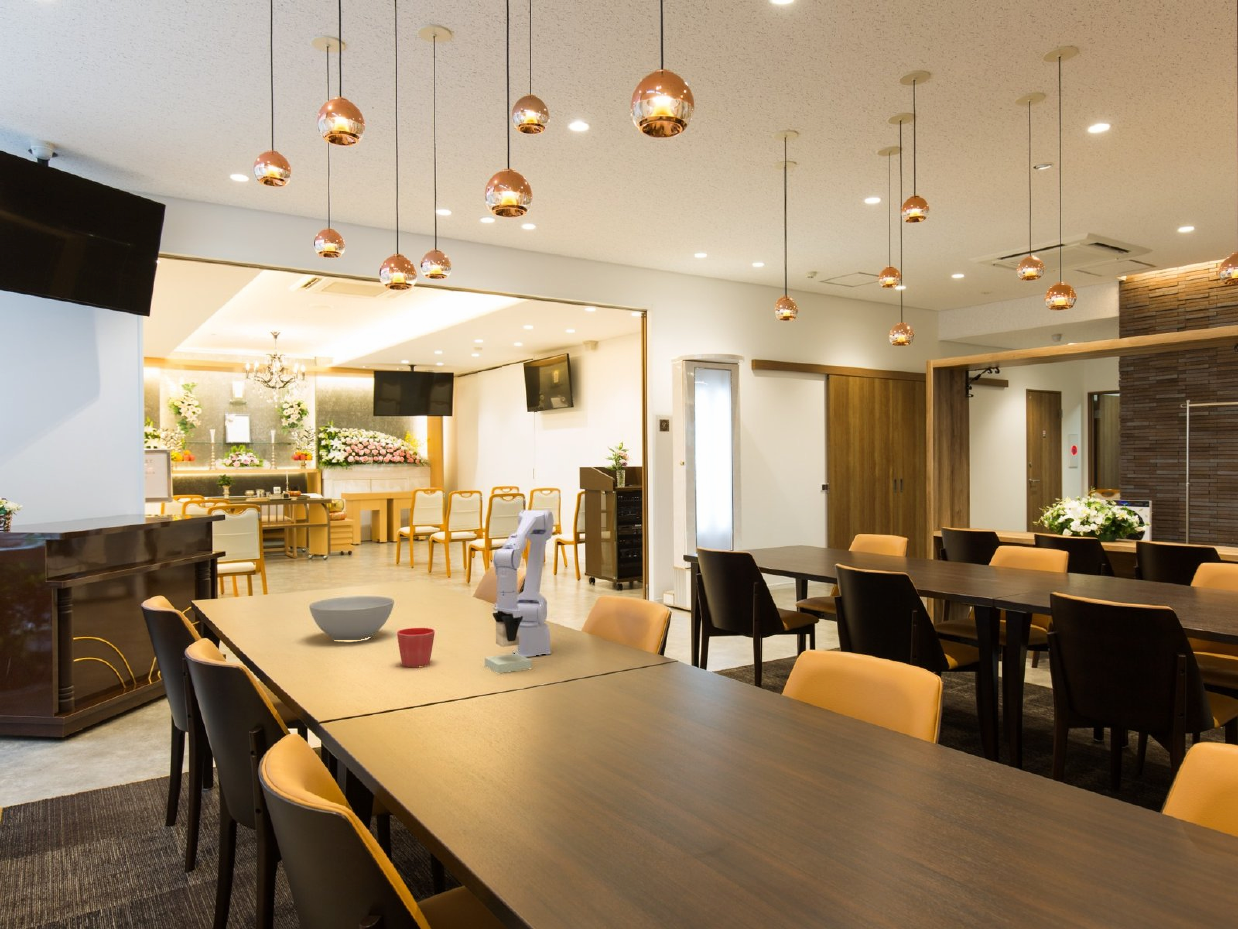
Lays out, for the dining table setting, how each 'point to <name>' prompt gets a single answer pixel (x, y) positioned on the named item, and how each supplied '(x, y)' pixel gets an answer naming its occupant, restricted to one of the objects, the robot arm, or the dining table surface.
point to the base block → (507, 663)
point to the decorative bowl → (351, 616)
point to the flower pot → (415, 646)
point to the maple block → (504, 636)
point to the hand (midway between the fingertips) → (507, 639)
